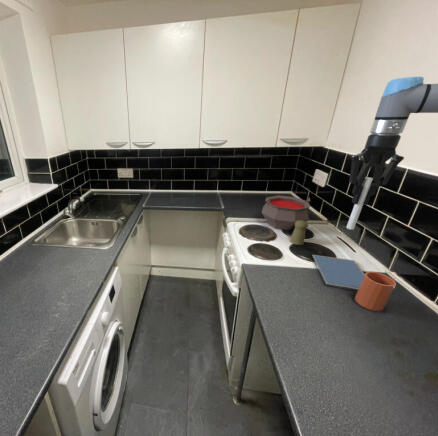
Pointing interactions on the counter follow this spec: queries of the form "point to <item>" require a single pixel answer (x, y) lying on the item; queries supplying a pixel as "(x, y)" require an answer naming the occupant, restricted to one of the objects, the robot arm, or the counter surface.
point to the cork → (299, 232)
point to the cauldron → (285, 211)
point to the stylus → (359, 204)
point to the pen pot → (374, 291)
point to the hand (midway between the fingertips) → (359, 203)
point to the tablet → (339, 272)
